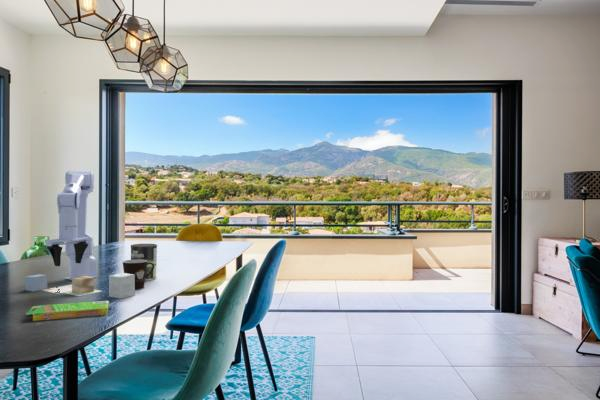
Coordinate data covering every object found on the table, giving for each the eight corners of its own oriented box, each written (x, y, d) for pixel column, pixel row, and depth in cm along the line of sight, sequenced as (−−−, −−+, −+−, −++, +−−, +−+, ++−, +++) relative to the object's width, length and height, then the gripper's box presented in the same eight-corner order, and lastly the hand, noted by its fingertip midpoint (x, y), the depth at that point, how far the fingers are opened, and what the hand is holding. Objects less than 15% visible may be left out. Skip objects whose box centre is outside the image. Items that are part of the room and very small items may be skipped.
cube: (39, 287, 155) (39, 274, 155) (47, 289, 153) (47, 275, 153) (25, 290, 151) (24, 276, 151) (33, 291, 148) (32, 277, 148)
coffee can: (144, 282, 167) (144, 246, 167) (124, 280, 171) (125, 245, 171) (162, 277, 177) (162, 244, 177) (142, 275, 181) (143, 243, 181)
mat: (87, 288, 155) (87, 288, 155) (102, 291, 150) (102, 291, 150) (63, 293, 147) (63, 292, 147) (78, 296, 142) (78, 296, 142)
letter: (76, 284, 162) (76, 283, 162) (92, 287, 157) (92, 286, 157) (41, 290, 151) (41, 289, 151) (57, 293, 146) (57, 293, 146)
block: (85, 289, 152) (85, 275, 152) (93, 291, 150) (94, 277, 150) (71, 292, 148) (72, 278, 148) (80, 294, 145) (80, 279, 145)
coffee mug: (123, 291, 151) (123, 263, 151) (121, 286, 159) (121, 260, 159) (157, 288, 156) (157, 261, 156) (153, 284, 164) (153, 258, 164)
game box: (106, 318, 122) (24, 322, 114) (108, 310, 131) (32, 312, 123) (107, 308, 122) (25, 310, 114) (109, 300, 131) (32, 302, 123)
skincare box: (135, 295, 145) (135, 274, 145) (119, 299, 140) (119, 277, 140) (123, 293, 148) (124, 272, 148) (108, 296, 143) (108, 275, 143)
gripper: (54, 228, 141) (54, 268, 141) (94, 225, 154) (93, 262, 154) (42, 227, 145) (42, 266, 145) (82, 224, 157) (82, 261, 157)
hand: (68, 264), depth 150 cm, fingers open, 7 cm apart
